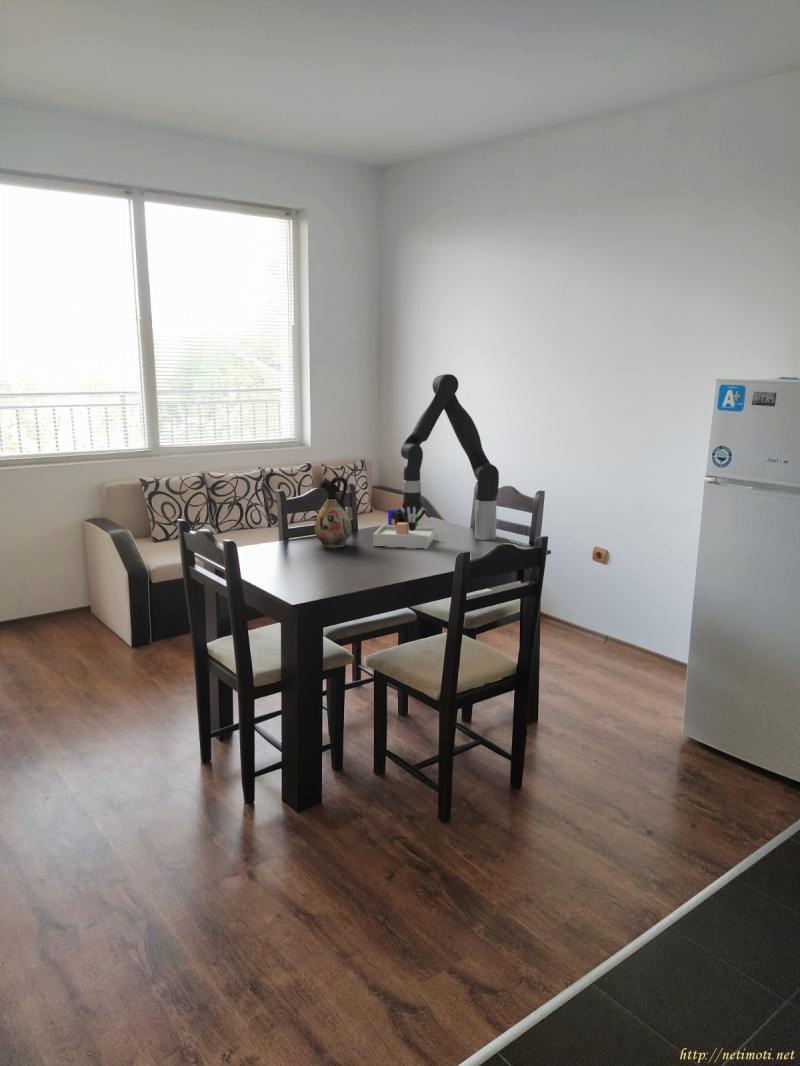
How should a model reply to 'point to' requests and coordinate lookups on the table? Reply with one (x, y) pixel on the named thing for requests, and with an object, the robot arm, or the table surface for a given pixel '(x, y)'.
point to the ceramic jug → (333, 516)
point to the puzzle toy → (397, 517)
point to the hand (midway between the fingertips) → (412, 530)
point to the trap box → (403, 537)
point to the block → (402, 528)
